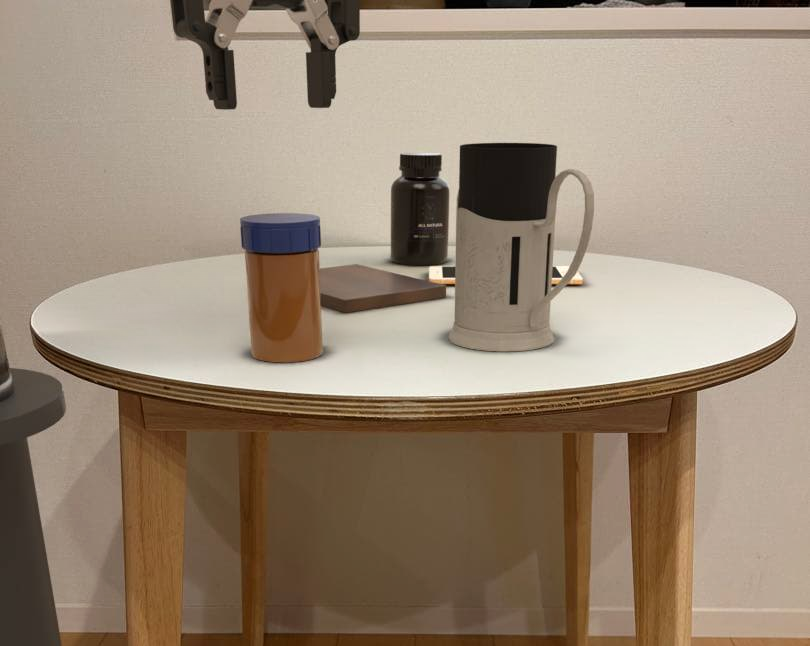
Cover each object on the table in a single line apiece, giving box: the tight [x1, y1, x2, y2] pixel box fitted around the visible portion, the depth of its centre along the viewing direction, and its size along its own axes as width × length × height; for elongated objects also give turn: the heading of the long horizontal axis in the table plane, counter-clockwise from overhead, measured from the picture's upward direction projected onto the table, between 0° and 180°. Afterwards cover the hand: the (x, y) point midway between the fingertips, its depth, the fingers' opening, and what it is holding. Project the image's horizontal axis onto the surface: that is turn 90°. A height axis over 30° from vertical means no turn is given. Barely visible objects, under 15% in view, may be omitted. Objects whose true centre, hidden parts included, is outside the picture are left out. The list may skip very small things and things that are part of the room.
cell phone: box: [428, 265, 584, 285], centre depth 109 cm, size 8×16×1 cm, turn 89°
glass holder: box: [448, 142, 595, 352], centre depth 79 cm, size 9×14×15 cm, turn 33°
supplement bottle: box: [390, 152, 451, 266], centre depth 117 cm, size 7×7×12 cm
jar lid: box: [239, 212, 322, 253], centre depth 76 cm, size 6×6×2 cm
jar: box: [244, 248, 324, 363], centre depth 78 cm, size 6×6×10 cm
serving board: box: [320, 263, 447, 314], centre depth 102 cm, size 12×16×1 cm
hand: (274, 108), depth 72 cm, fingers open, 7 cm apart
